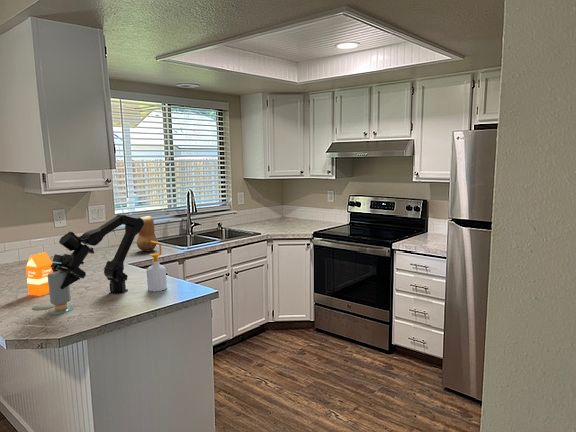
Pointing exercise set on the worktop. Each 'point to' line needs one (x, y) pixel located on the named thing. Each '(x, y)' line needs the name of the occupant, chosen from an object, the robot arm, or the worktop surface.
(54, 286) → the grey canister
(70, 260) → the robot arm
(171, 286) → the worktop surface
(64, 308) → the teal disc stand
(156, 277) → the soap bottle
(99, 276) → the worktop surface
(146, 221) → the butternut squash
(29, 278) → the orange juice
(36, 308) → the mat
